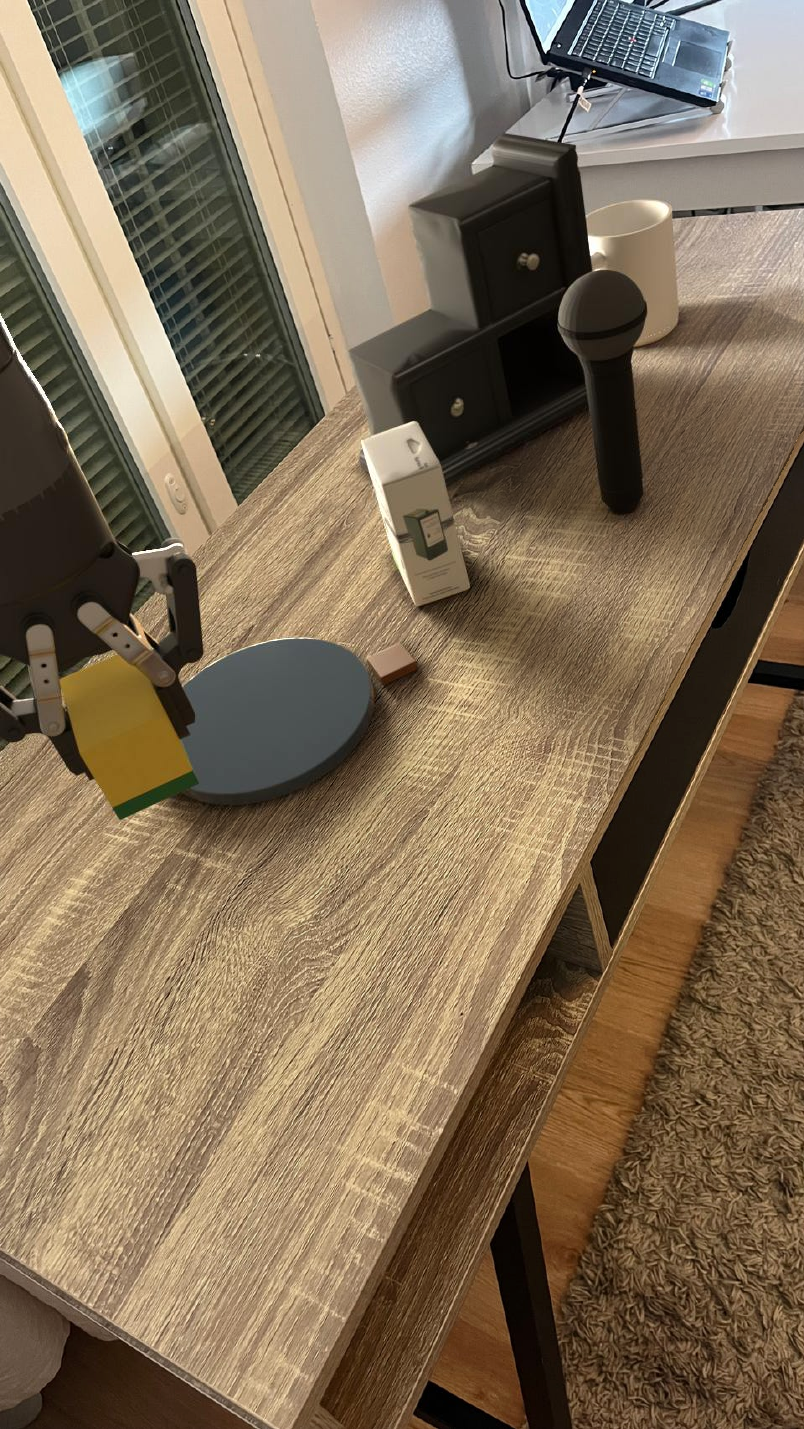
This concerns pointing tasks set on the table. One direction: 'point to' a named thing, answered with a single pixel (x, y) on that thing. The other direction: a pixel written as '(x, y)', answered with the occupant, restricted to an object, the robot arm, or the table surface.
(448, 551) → the ink box
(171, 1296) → the table surface
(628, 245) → the mug
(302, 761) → the plate
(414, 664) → the orange brown flat block
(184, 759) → the sponge
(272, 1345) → the table surface
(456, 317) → the small black cabinet
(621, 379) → the microphone
